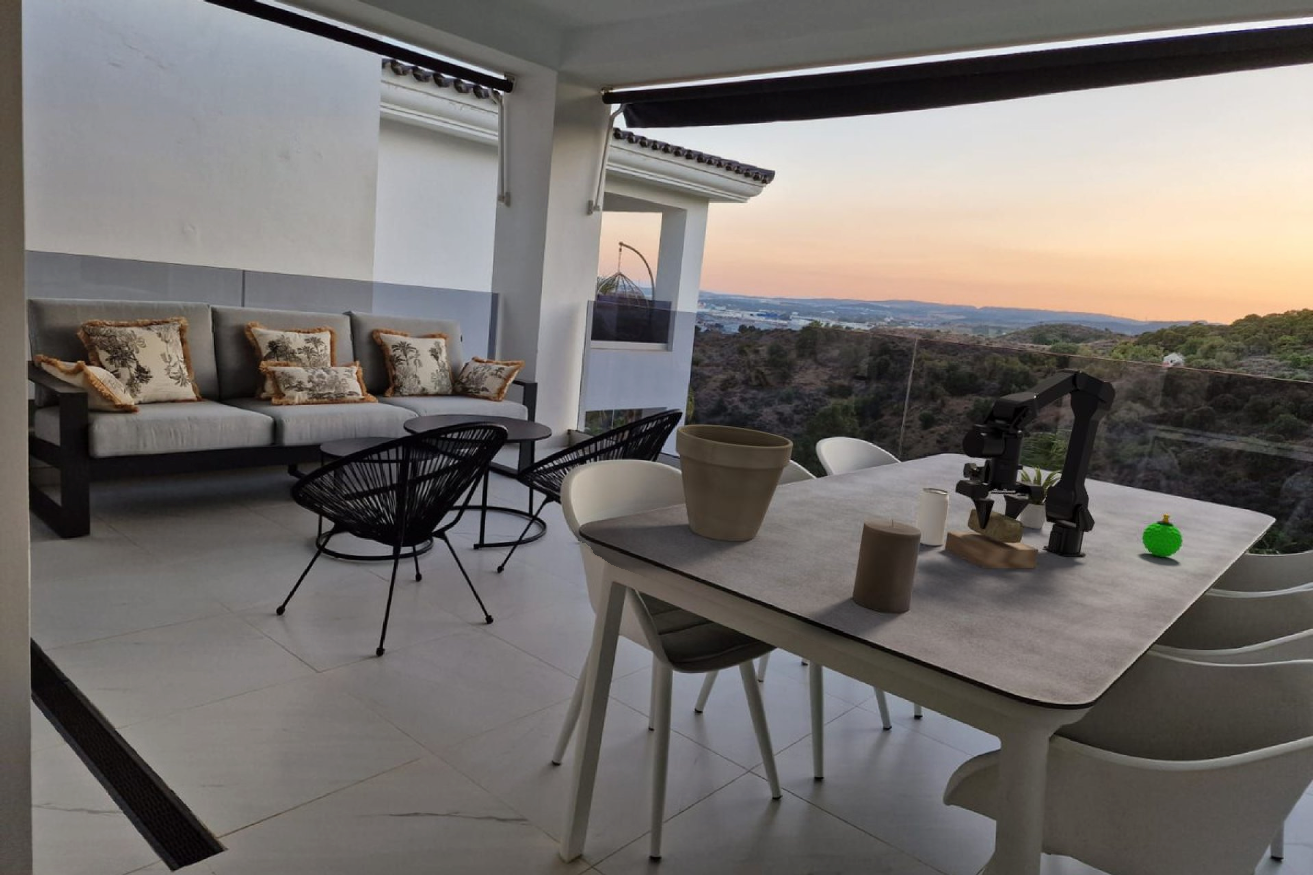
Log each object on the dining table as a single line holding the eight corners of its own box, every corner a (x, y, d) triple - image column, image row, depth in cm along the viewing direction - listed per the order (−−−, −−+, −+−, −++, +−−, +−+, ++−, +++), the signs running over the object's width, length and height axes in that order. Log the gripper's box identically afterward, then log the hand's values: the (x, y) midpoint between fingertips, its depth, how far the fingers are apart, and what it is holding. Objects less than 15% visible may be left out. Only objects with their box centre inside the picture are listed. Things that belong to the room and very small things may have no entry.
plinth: (993, 549, 188) (996, 532, 187) (1035, 567, 176) (1038, 549, 175) (944, 549, 184) (947, 531, 183) (984, 568, 172) (987, 549, 171)
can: (944, 547, 185) (952, 495, 183) (914, 543, 186) (922, 491, 185) (940, 540, 192) (948, 489, 190) (911, 536, 193) (919, 485, 191)
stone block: (1000, 544, 173) (1004, 521, 172) (964, 529, 184) (967, 507, 183) (1023, 544, 175) (1027, 521, 174) (985, 529, 186) (989, 507, 185)
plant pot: (805, 543, 178) (818, 443, 175) (715, 554, 164) (726, 446, 161) (731, 514, 198) (741, 424, 195) (645, 521, 184) (654, 424, 181)
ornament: (1141, 548, 202) (1148, 508, 200) (1180, 557, 197) (1188, 516, 196) (1137, 555, 195) (1145, 513, 194) (1177, 563, 190) (1186, 521, 189)
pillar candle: (876, 615, 138) (889, 527, 136) (841, 594, 147) (853, 511, 144) (922, 612, 142) (936, 526, 140) (885, 592, 151) (897, 511, 148)
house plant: (1070, 527, 218) (1080, 466, 215) (1063, 537, 206) (1074, 472, 203) (1012, 516, 225) (1021, 456, 222) (1002, 525, 213) (1012, 462, 211)
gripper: (1014, 451, 187) (1004, 519, 189) (944, 449, 181) (934, 518, 184) (1051, 461, 177) (1039, 533, 179) (978, 459, 171) (967, 533, 173)
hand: (994, 528), depth 179 cm, fingers closed on stone block, 6 cm apart
